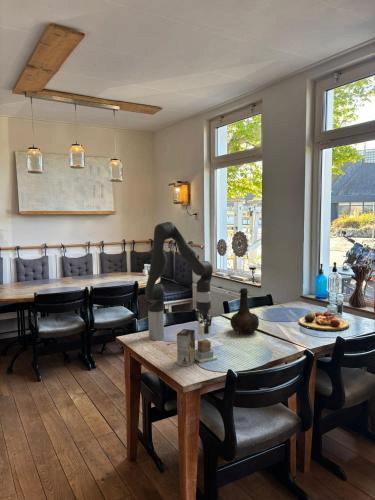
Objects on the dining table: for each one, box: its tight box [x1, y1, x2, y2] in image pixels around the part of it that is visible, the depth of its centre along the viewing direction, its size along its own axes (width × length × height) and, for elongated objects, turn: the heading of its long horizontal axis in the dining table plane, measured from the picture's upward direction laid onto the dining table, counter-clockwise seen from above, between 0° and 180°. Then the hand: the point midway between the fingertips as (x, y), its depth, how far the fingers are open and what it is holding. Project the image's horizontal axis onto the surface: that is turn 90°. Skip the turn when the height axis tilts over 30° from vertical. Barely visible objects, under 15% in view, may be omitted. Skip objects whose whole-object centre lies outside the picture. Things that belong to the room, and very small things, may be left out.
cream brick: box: [196, 323, 211, 337], centre depth 197 cm, size 5×5×5 cm
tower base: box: [195, 348, 218, 363], centre depth 198 cm, size 10×10×4 cm
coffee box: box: [176, 328, 196, 367], centre depth 192 cm, size 9×6×16 cm
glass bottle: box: [229, 287, 260, 335], centre depth 239 cm, size 18×18×28 cm
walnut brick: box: [197, 338, 212, 353], centre depth 197 cm, size 5×5×5 cm
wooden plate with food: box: [298, 311, 350, 332], centre depth 254 cm, size 32×32×8 cm
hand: (203, 331), depth 197 cm, fingers closed on cream brick, 5 cm apart
